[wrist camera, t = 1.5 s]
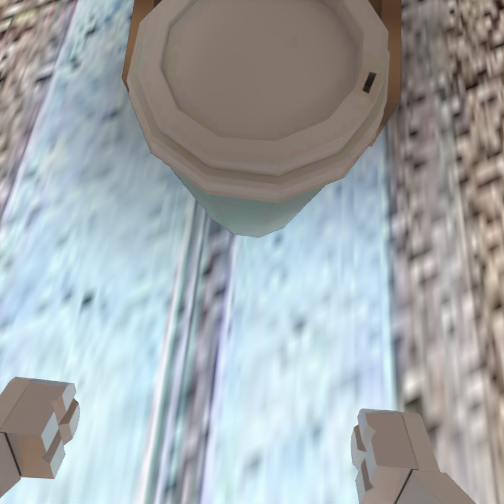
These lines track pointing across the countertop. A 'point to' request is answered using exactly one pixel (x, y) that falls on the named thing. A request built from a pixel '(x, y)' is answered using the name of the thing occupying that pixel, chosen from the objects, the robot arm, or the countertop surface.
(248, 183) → the disposable coffee cup
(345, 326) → the countertop surface
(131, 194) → the countertop surface
